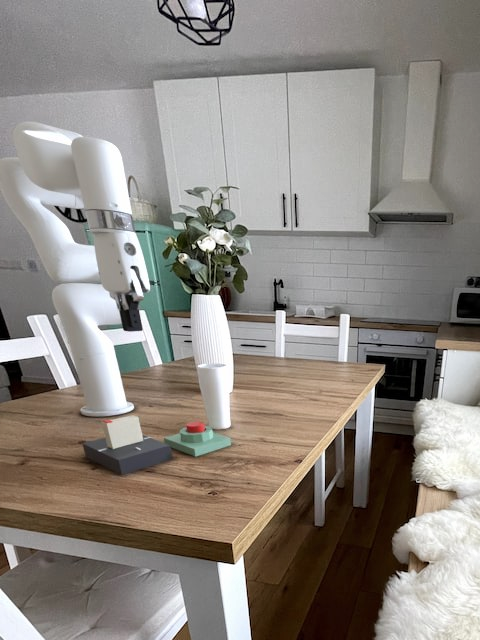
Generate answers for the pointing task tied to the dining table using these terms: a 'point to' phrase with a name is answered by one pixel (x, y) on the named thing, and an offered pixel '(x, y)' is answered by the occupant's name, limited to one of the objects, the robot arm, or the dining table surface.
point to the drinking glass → (215, 394)
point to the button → (195, 427)
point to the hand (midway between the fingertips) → (133, 330)
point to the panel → (128, 454)
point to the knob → (122, 431)
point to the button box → (197, 441)
